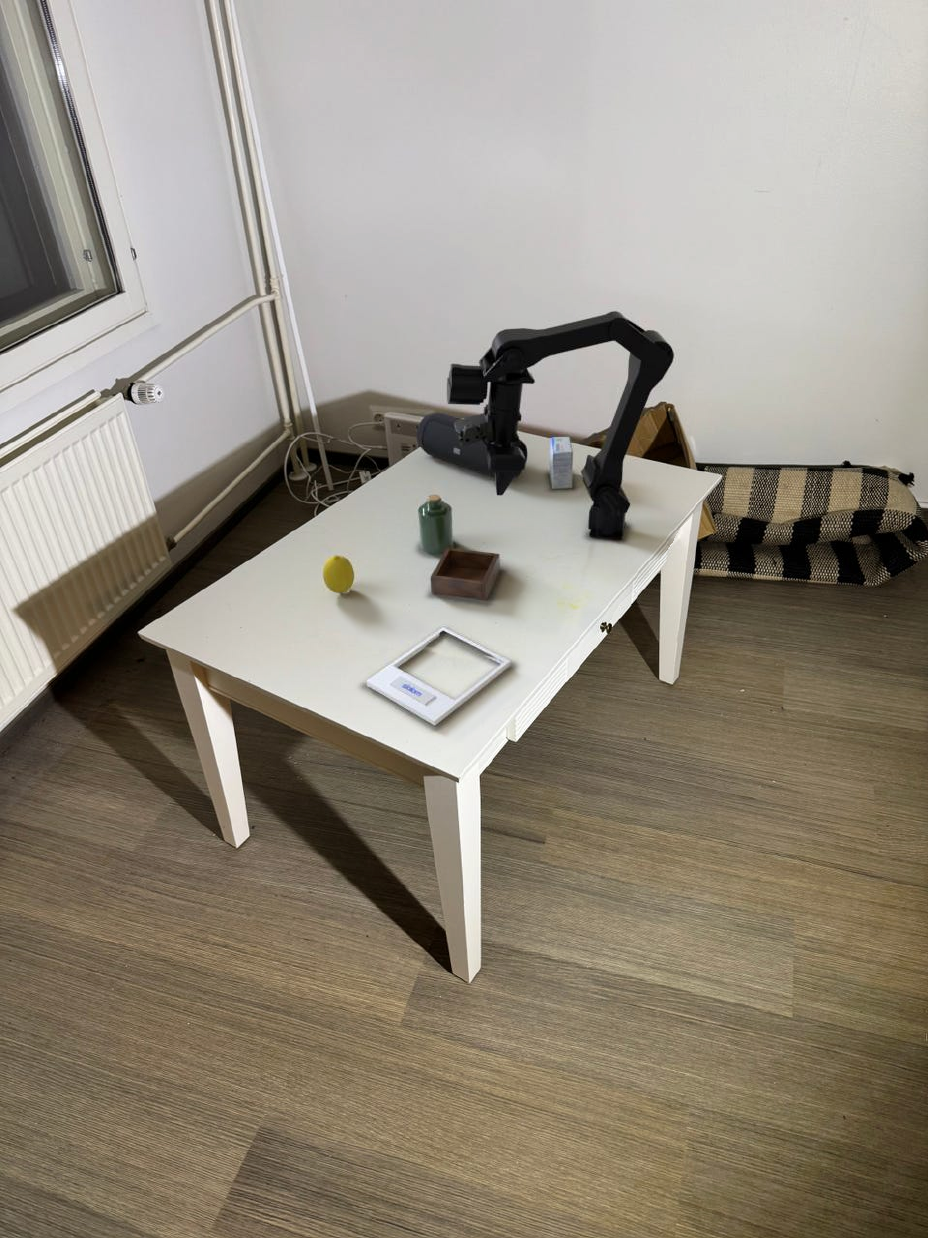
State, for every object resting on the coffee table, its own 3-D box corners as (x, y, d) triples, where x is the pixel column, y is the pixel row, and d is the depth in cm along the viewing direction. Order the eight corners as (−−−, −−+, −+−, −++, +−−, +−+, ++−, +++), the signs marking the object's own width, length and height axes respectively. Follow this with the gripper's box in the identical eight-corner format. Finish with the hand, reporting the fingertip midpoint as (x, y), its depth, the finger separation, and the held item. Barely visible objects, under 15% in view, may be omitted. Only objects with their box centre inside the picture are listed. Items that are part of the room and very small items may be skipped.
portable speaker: (415, 459, 202) (412, 418, 196) (443, 443, 208) (441, 404, 202) (502, 489, 189) (502, 447, 183) (529, 472, 195) (530, 431, 189)
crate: (499, 571, 163) (499, 553, 161) (486, 602, 155) (485, 584, 153) (447, 565, 166) (446, 547, 163) (431, 595, 158) (430, 577, 155)
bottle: (460, 545, 171) (458, 495, 165) (438, 559, 167) (435, 509, 161) (435, 535, 175) (432, 485, 168) (414, 549, 171) (410, 498, 164)
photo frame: (366, 680, 138) (442, 626, 148) (366, 685, 138) (443, 631, 149) (434, 720, 130) (510, 660, 140) (434, 725, 130) (510, 665, 141)
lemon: (351, 603, 157) (346, 565, 152) (321, 600, 158) (315, 563, 153) (360, 585, 161) (355, 548, 156) (331, 583, 162) (326, 546, 157)
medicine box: (572, 489, 188) (573, 452, 183) (551, 489, 188) (552, 452, 183) (569, 472, 194) (570, 436, 189) (549, 472, 195) (549, 436, 189)
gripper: (453, 383, 162) (447, 460, 171) (465, 425, 147) (459, 507, 156) (512, 385, 163) (503, 461, 173) (530, 426, 148) (520, 507, 158)
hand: (495, 483), depth 165 cm, fingers open, 9 cm apart
